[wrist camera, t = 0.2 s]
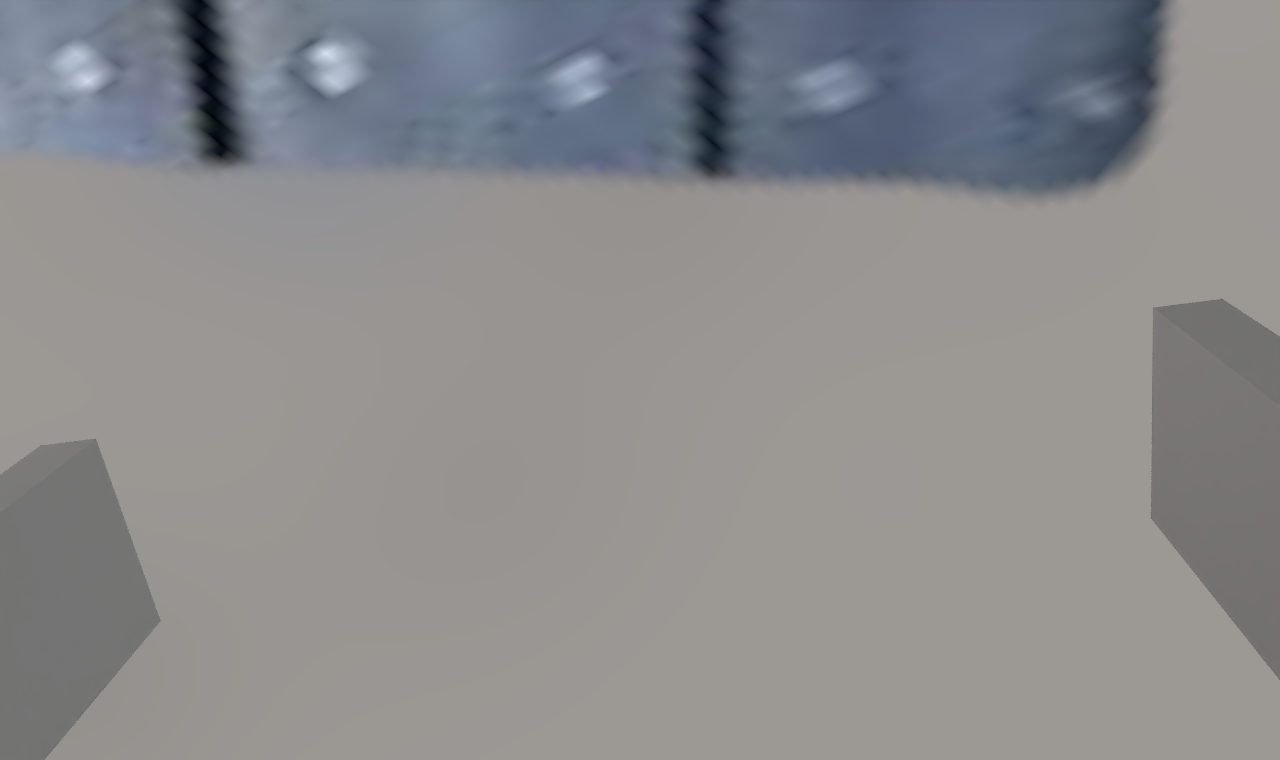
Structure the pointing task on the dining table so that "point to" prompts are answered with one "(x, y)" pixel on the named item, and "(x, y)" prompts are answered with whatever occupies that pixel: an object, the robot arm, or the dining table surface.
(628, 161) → the dining table surface
